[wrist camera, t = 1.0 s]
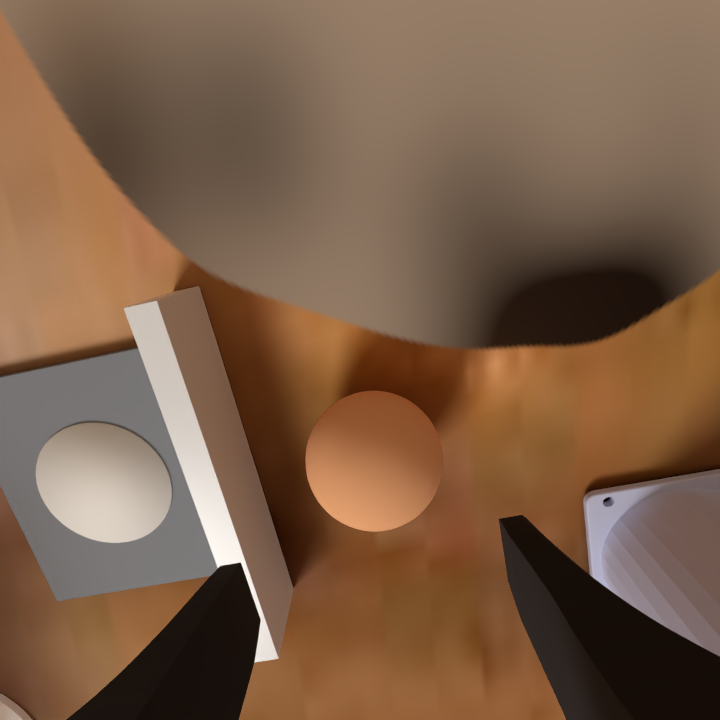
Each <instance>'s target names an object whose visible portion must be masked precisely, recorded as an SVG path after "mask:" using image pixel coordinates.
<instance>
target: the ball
mask: <svg viewBox="0 0 720 720" xmlns="http://www.w3.org/2000/svg"><path fill="white" fill-rule="evenodd" d="M305 462H306V473H307V478H308V481H309V484H310V487H311V489H312V492H313V493H314V495H315V497H316V499H317V500H318V502H319V503H320V505H321V506H322V507H323V508H324V509H325V510H326V511H327V512H328V513H329V514H330V515H331V516H332V517H334V518H335V519H336V520H338V521H340V522H341V523H343V524H345V525H347V526H350V527H352V528H355V529H359V530H363V531H386V530H390V529H394V528H397V527H400V526H402V525H404V524H406V523H408V522H410V521H411V520H413V519H414V518H416V517H417V516H418V515H419V514H420V513H421V512H422V511H423V510H424V509H425V508H426V507H427V506H428V505H429V503H430V502H431V500H432V499H433V497H434V495H435V493H436V491H437V489H438V486H439V483H440V480H441V476H442V469H443V454H442V447H441V443H440V439H439V436H438V434H437V432H436V430H435V428H434V426H433V424H432V422H431V421H430V419H429V418H428V417H427V416H426V414H425V413H424V412H423V411H422V410H421V409H420V408H418V407H417V406H416V405H415V404H413V403H412V402H411V401H409V400H407V399H405V398H403V397H401V396H399V395H396V394H393V393H389V392H385V391H363V392H358V393H354V394H351V395H349V396H346V397H344V398H342V399H340V400H339V401H337V402H336V403H334V404H333V405H332V406H330V407H329V408H328V409H327V410H326V411H325V412H324V413H323V414H322V416H321V417H320V418H319V419H318V421H317V422H316V424H315V426H314V428H313V430H312V432H311V434H310V437H309V440H308V444H307V448H306V458H305Z"/></svg>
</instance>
